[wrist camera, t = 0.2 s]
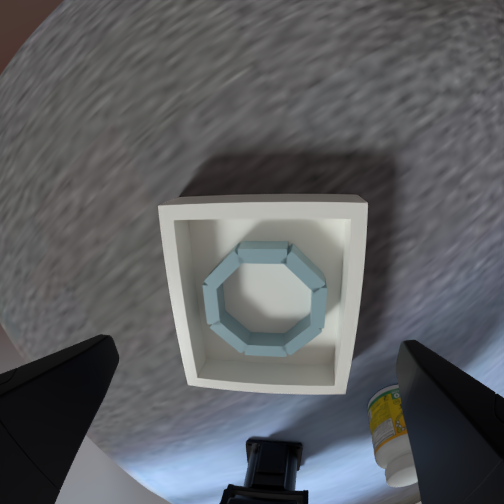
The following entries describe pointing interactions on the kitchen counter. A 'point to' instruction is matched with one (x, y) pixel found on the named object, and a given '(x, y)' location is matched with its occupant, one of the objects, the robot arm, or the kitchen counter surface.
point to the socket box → (266, 288)
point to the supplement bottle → (391, 437)
